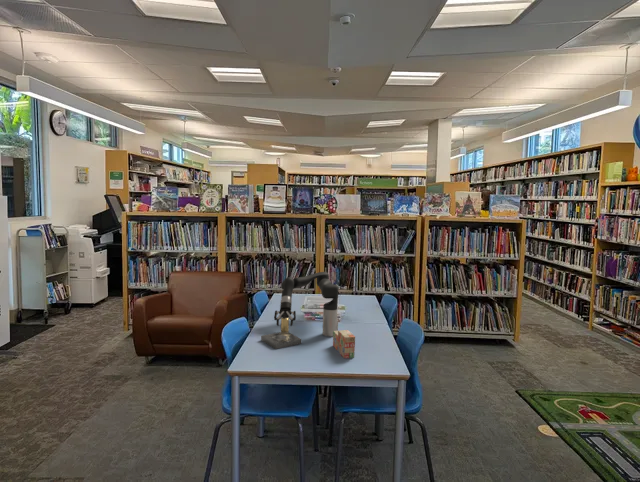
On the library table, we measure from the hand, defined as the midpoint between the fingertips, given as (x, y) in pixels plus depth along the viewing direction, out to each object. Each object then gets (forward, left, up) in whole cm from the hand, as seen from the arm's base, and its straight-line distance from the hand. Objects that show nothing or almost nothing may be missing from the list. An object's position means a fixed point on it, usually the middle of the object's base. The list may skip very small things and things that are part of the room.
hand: (284, 325), depth 267 cm
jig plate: (+11, +14, -5) cm, 18 cm away
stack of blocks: (-12, +46, -6) cm, 48 cm away
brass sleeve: (0, 0, -5) cm, 5 cm away
